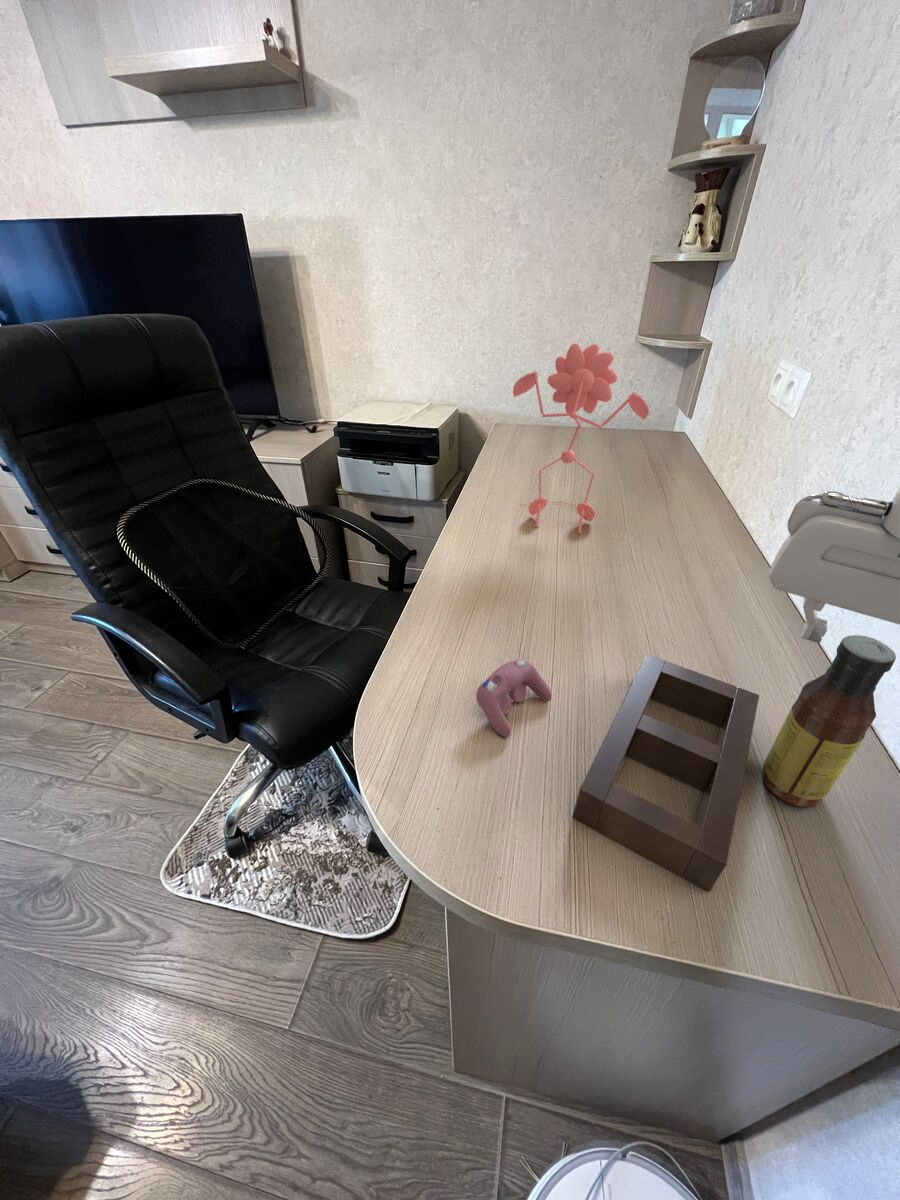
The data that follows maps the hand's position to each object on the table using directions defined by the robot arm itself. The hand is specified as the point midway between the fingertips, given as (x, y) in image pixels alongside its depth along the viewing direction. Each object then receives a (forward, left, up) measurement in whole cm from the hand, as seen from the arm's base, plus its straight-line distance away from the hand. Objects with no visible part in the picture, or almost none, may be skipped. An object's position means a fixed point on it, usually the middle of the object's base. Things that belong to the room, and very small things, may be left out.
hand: (869, 656), depth 45 cm
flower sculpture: (+48, -50, -19) cm, 72 cm away
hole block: (+12, +5, -19) cm, 23 cm away
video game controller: (+31, +7, -19) cm, 37 cm away
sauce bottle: (0, 0, -19) cm, 19 cm away
